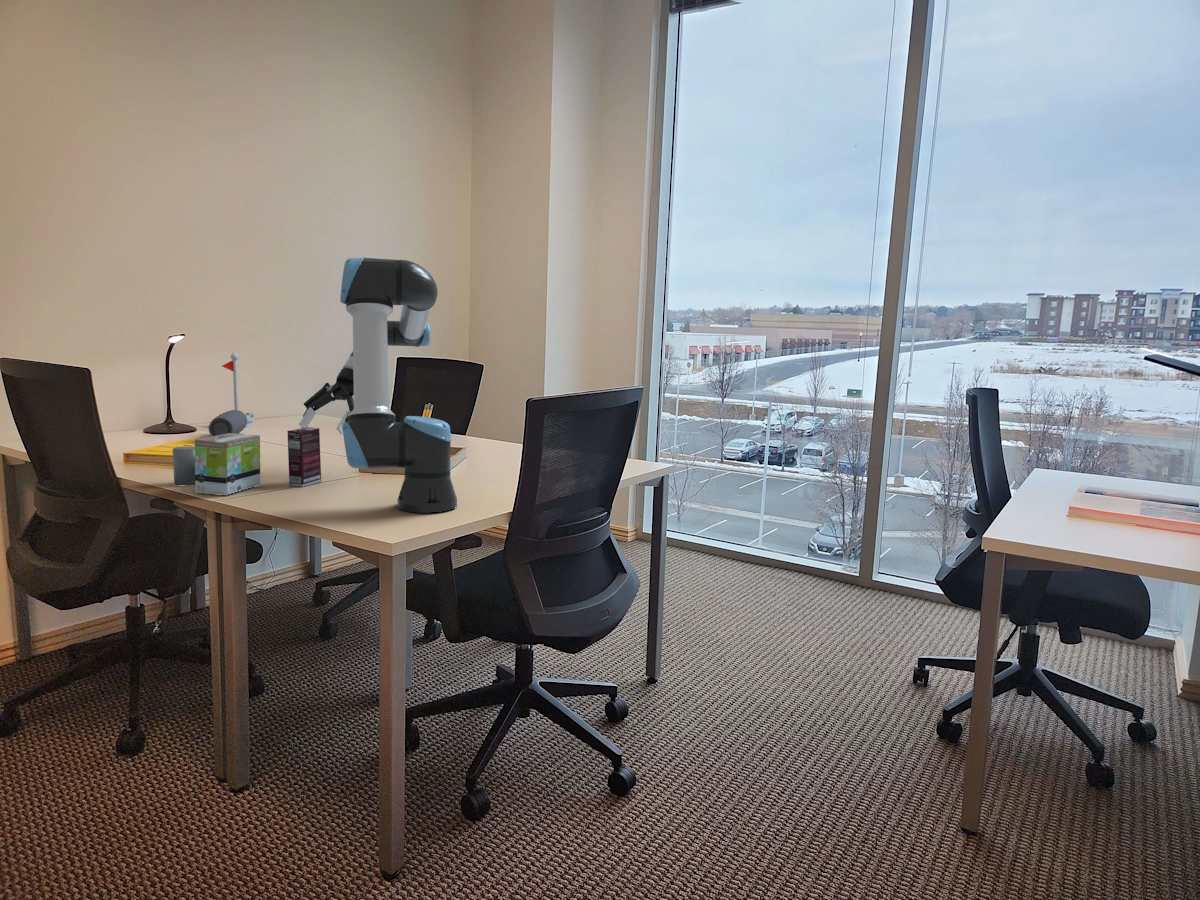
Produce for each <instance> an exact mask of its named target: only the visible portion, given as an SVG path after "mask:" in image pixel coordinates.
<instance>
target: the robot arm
mask: <svg viewBox="0 0 1200 900" xmlns="http://www.w3.org/2000/svg"><path fill="white" fill-rule="evenodd" d="M340 288H341V289H340V297H339V299H340V300H339V301H340V303H341V304H343V305H345V309H346V312H347V313H349V314H350V315H351V317H352V351H351V353H350V355H349V357H348V358H347V360H346V362H345V363H344V364H343V366H342V369H340V372H339V373H338V375H337V377H336V381H335V383H334V384H330V383H329V382H325V384H324V385H323V386H322V388H320V389H319V390H318V391H316V392H315V393H314V394H313V395H311V397H309V398H308V399H307V400H306V401H305V402H303V406H304V407H305V408H306V410H305V411H304V413H303V415H302V419H301V420H300V422H299V423H298V425H299V427H301V428H306V427H309V425H310V424H311V422H312V420H313V418H314V417H315V415H316V414H317V412H316V411H319V409H321V408H323V407H325V406H326V405H328V404H330V403H331V402H335V401H346V403H347V406H348V410H346V411H345V413H344V415H343V416H342V418H341V420H340V422H339V423H338V425H337V426H336V430H337V431H338V432H339V434H340V435H343V443H344V449H345V455H346V456H345V457H346V460H347V464H348V466H349V467H350V468H352V469H366V470H369V469H397V468H398V469H399V468H402V469H403V468H404V478H403V481H402V485H401V489H400V491H399V494H398V497H397V508H398V509H399V510H401V511H404V512H407V513H413V512H416V514H432V513H431V512H439V513H443V512H442V511H446V512H448V511H447V510H450V511H452V510H451V509H453V510H455V509H456V508H457V507H458V496H457V494H456V491H455V488H454V485H453V481H452V477H451V442H452V438H451V437H452V435H451V434H452V433H451V427H450V424H449V423H447V422H446V421H444V420H441V419H438V418H433V417H426V416H420V415H419V416H418V415H414V416H413V415H408V416H405V417H404V419H403V422H401V421H397V422H396V414H395V413H394V412H393V411H392V410H391V409H390V406H389V405H390V404H389V403H390V402H389V401H390V400H389V398H390V394H389V393H390V392H389V389H390V388H389V353H388V352H389V350H388V349H389V347H388V346H391V347H393V346H396V347H417V348H418V347H427V346H429V345H430V342H431V325H430V324H429V322H428V317H429V314H430V311H431V309H432V308H433V307H434V305H435V304H436V301H437V299H438V294H439V293H438V285H437V282H436V280H435V279H434V277H433V275H431V273H430V272H429V271H428V270H427V269H425V268H424V267H423V266H421V265H420V264H418V263H416V262H414V261H410V260H407V259H389V258H376V257H375V258H372V257H365V256H363V257H350V258H347V259H346V260H345V262H344V265H343V271H342V279H341V287H340ZM394 306H402V308H401V311H400V313H401V314H400V318H399V320H388V318H389V316H391V314H392V313H393V311H394ZM455 507H456V508H455ZM454 508H455V509H454Z"/></svg>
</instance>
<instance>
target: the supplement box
mask: <svg viewBox="0 0 1200 900" xmlns="http://www.w3.org/2000/svg"><path fill="white" fill-rule="evenodd" d="M320 440H321V439H320V428H318V427H310V426H308V427H306V428H302V427H301V428H297V429H291V430H290V429H289V430H287V456H288V457H287V458H288V460H287V461H288V482H289V483H288V484H289V486H290V485H291V486H290V487H296V486H300V487H299V488H304V486H305V487H308V486H312V485H315V484H317V483H321V482H322V470H321V469H322V468H321V465H322V462H321V446H320V445H321V441H320Z"/></svg>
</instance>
